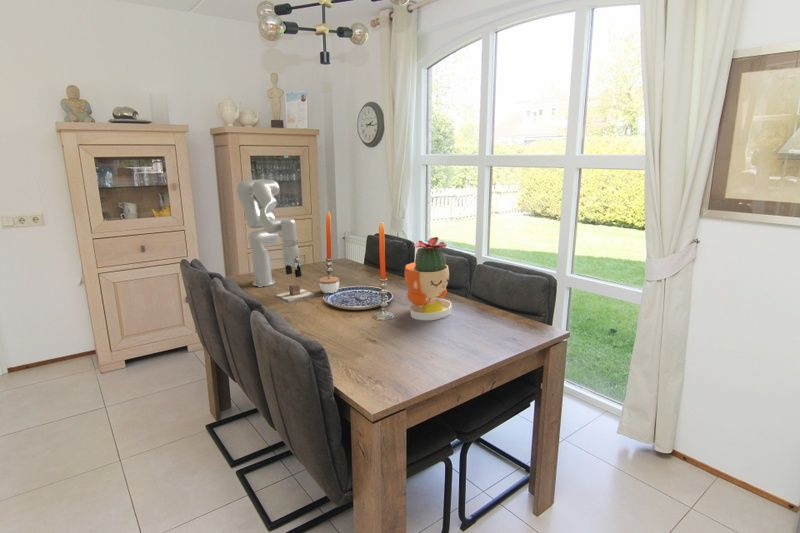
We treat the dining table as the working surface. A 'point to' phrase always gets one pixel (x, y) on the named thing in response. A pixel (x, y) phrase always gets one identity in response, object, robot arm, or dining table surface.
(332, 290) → the lidded jar
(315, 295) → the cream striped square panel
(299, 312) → the dining table surface
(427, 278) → the potted cactus
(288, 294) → the birch lid
